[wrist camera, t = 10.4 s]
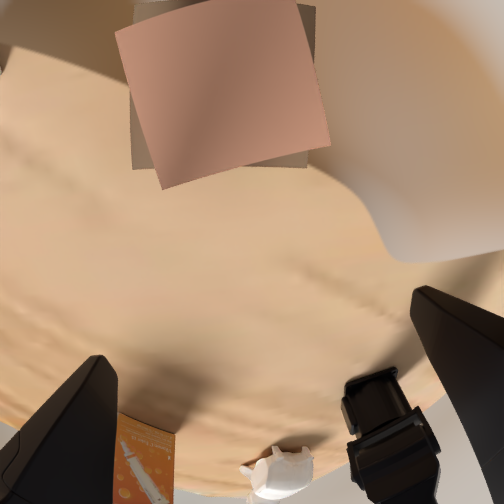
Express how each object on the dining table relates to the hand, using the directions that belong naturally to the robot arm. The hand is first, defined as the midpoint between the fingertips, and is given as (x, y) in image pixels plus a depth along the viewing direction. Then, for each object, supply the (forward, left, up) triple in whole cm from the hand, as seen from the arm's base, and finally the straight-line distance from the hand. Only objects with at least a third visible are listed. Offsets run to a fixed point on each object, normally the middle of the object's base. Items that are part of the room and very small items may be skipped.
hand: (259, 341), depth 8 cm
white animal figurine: (+4, +42, -13) cm, 44 cm away
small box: (+19, +26, -13) cm, 34 cm away
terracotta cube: (-1, -6, -8) cm, 10 cm away
